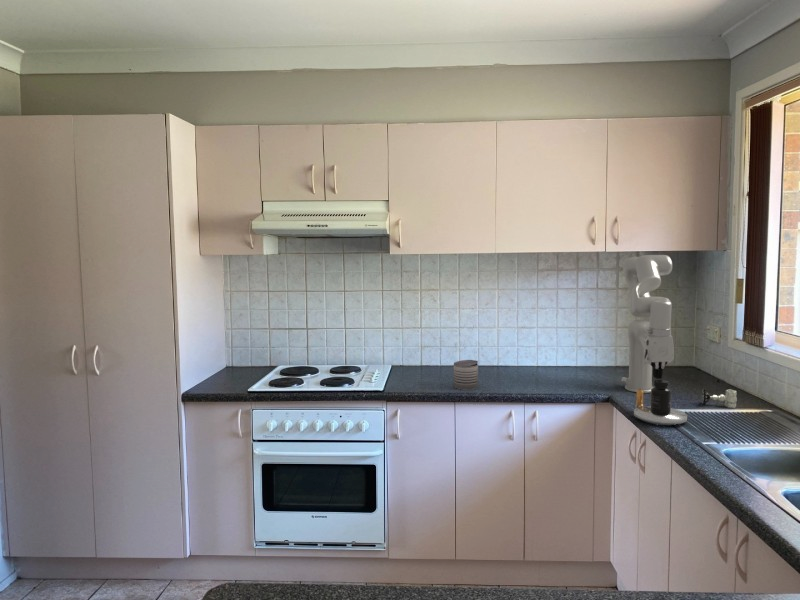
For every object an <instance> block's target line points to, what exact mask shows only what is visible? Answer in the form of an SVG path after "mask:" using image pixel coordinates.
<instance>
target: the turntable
mask: <svg viewBox="0 0 800 600" xmlns="http://www.w3.org/2000/svg"><path fill="white" fill-rule="evenodd" d="M633 416H634V417H635V418H636V419H638V420H640V419H641V420H644V421H647V422H652V423H658V424H679V425H682V424H684V423H687V421H688V414H687V413H685V412H684V411H682V410H679V409H677V408H672V407H671V412H670V414H669V415H658V414H654V413H652V412H651V405H644V393H643V390H637V392H636V402H635V408H634V409H633ZM641 420H640V421H641Z"/></svg>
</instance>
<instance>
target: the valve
mask: <svg viewBox="0 0 800 600" xmlns="http://www.w3.org/2000/svg"><path fill="white" fill-rule="evenodd" d="M737 394H738V393H737V390H734V389H726V390H725V394H722V393H721V394H720V395H716V394H713V395H711V394H709V393H708V392H707V389H706V388H703V389H702V393H701V397H702V398H701V402H702V405H706V404H707V403H708V402H709V401H710V400H711V399H712V400H713V401H717V400H718V401H719V402H721V403H724V406H725V407H726V408H727V409H728V408H730V409H736V407H737V401H738V398H737Z"/></svg>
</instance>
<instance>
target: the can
mask: <svg viewBox="0 0 800 600" xmlns="http://www.w3.org/2000/svg"><path fill="white" fill-rule="evenodd" d="M454 387H455V388H454ZM477 387H479V361H478V360H474V359H462V360H458V361H455V362H453V388H454V389H456V388H458V389H457V390H460V389H463V390H462V391H472V390H471V389H473V390H477V389H478V388H477ZM476 388H477V389H476ZM467 389H468V390H467Z"/></svg>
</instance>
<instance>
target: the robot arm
mask: <svg viewBox="0 0 800 600" xmlns="http://www.w3.org/2000/svg"><path fill="white" fill-rule="evenodd" d="M622 266H623V267H622V270H623V276H624V280H625V282H626V284H627V287H628V292H629V293H628V295H629V309H630V314H631V316H632V317H635V318H640V319H635V320H631V321H630V322H629V323H628V325H627V334H628V341H629V345H628V346H629V357H628V358H629V359H628V360H629V361H628V377H625V376H622V377H621V383H625V386H624V388H625V390H626V391H629V392H632V393H633V392H634V393H637V390H643V394H648V393H650V394H651V389H652V388H653V387H654V385H653V382H652V381H653V378H655V379H656V380H663V373H664V371H663V370H664V369H665V367H666V365H668V364H671V363H672V362H673V361H674V359H675V347H674V346H675V345H674V338H673V335H672V325H671V324H672V307H673V306H672V305H673V304H672V301H671V300H670V299H669V298H668V297H663V296H652V295H651V294H650V292H653V291H654V290H657V289H658V288H660V286H661V284H662V279H661V276H667V275H670V274H671V273H672V271H673V261H672V259H671V257H670V256H669V255H666V254H644V255H641V256H633V257H628V258H626V259H625V260H624V261H623V263H622ZM641 318H644V319H641ZM645 318H648V319H645Z"/></svg>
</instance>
